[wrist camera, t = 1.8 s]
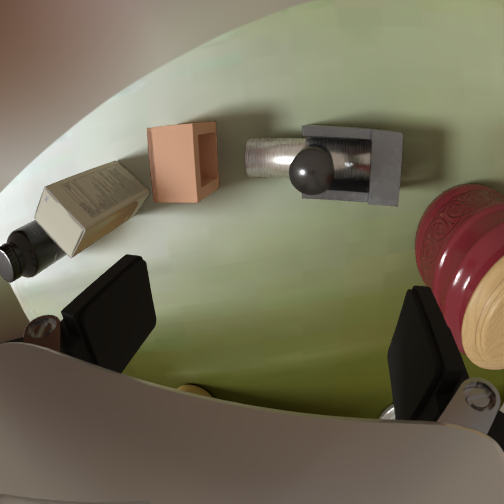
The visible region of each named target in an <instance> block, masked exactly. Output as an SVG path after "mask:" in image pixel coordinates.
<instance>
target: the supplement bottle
mask: <svg viewBox="0 0 504 504" xmlns="http://www.w3.org/2000/svg"><path fill="white" fill-rule="evenodd" d="M65 255H67V254H66V253H65V252H64V251H63V250H62V249H61V248H60V247H59V246H58V245H57V244H56V243H55V242H54V241H53V240H52V239H51V237H50V236H49V235H48V234H47V233H46V232H45V231H44V230H43V229H42V227H41V226H40V225H39V224H38V223H37V221H36V220H34V221H32V222H30V223H28V224H26V225H24V226H22V227H20V228H18V229H16V230H14V231H13V232H12V233H11V234H10V235H9V237H8V239H7V243H4V244H3V245H2V246H0V275H1V276H2V277H3V278H4V280H6V281H7V282H10V283H11V282H13V281H15V280H16V279H18V278H20V277H21V276H24V277H28V278H29V277H33V276H35V275H37V274H38V273H40V272H41V271H43V270H44V269H46V268H47V267H49V266H50V265H52V264H53V263H55V262H56V261H58V260H59V259H61V258H62V257H64V256H65Z"/></svg>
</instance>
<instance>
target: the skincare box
mask: <svg viewBox="0 0 504 504" xmlns="http://www.w3.org/2000/svg"><path fill="white" fill-rule="evenodd" d="M149 193H150V192H149V190H148V189H147V188H146V187H145V186H144V185H143V184H142V183H141V182H139V181H138V180H137V179H136V178H135V177H134V176H133V175H132V174H131V173H130V172H129V171H127V170H126V169H125V168H124V167H123V166H122V165H121V164H119V163H118V162H117V161H113V162H110V163H107V164H104V165H101V166H99V167H96V168H93V169H90V170H87V171H84V172H82V173H79V174H76V175H74V176H71V177H68V178H66V179H63V180H61V181H58V182H56V183H53V184H51V185H48V186H46V187H44V189H43V192H42V195H41V198H40V201H39V204H38V207H37V210H36V214H35V217H34V219H35V220H36V221H37V223H38V224H39V225H40V226H41V227H42V229H43V230H44V231H45V232H46V233H47V234H48V235H49V236H50V237H51V239H52V240H53V241H54V242H55V243H56V244H57V245H58V246H59V247H60V248H61V249H62V250H63V251H64V252H65V253H66V254H67V255H68V256H69V257H70V258H72V257H74V256H75V255H77V254H78V253H80V252H81V251H82V250H84V249H85V248H87V247H88V246H90V245H91V244H93V243H94V242H95V241H97V240H98V239H100V238H101V237H103V236H104V235H106V234H107V233H109V232H110V231H112V230H113V229H115V228H116V227H118V226H119V225H121V224H123V223H124V222H126V221H127V220H129V219H130V218H132V217H133V216H135V214H136V213H137V211H138V210H139V208H140V207H141V206H142V204H143V203H144V201H145V200H146V198H147V197H148V195H149Z"/></svg>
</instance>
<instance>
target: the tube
mask: <svg viewBox="0 0 504 504" xmlns="http://www.w3.org/2000/svg"><path fill="white" fill-rule="evenodd" d="M370 153H371V142H364V141H350V140H333V139H308V138H249V139H248V140H247V143H246V149H245V165H246V171H247V174H248V176H249V177H290V180H291V183H292V184H293V186H294V187H295V188H296V189H297V190H298V191H300V192H301V193H304V194H307V195H318V194H321V193H323V192H325V191H326V190H327V189H328V188H329V187H330V186H331V185H332V183H333V180H334V179H335V180H350V181H364V182H369V175H370Z"/></svg>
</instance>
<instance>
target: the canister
mask: <svg viewBox="0 0 504 504" xmlns="http://www.w3.org/2000/svg"><path fill="white" fill-rule="evenodd" d="M415 255H416V263H417V267H418V270H419V273H420V275H421V277H422V279H423V281H424V283H425V284H426V286H427V287H430V288H431V290H432V292H433V294H434V296H435V299H436V301H437V303H438V305H439V307H440V310H441V312H442V314H443V316H444V319H445V321H446V323H447V326H448V327H449V328H450V330H451V332H452V335H453V337H454V339H455V342H456V344H457V347H458V349H459V351H460V352H461V353H463V354H465V355H467V356H468V358H469V359H470V360H471V361H472V362H473V363H474V364H476V365H477V366H479V367H482V368H485V369H493V370H496V369H504V196H503V195H502V194H500V193H499V192H497V191H495V190H493V189H492V188H489V187H487V186H483V185H478V184H463V185H458V186H455V187H452V188H450V189H448V190H446V191H444V192H443V193H442V194H440V195H439V196H438V197H437V198H436V199H434V200H433V202H432V203H431V204H430V205H429V206H428V208H427V209H426V211H425V212H424V214H423V216H422V218H421V220H420V222H419V225H418V228H417V232H416V238H415Z"/></svg>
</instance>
